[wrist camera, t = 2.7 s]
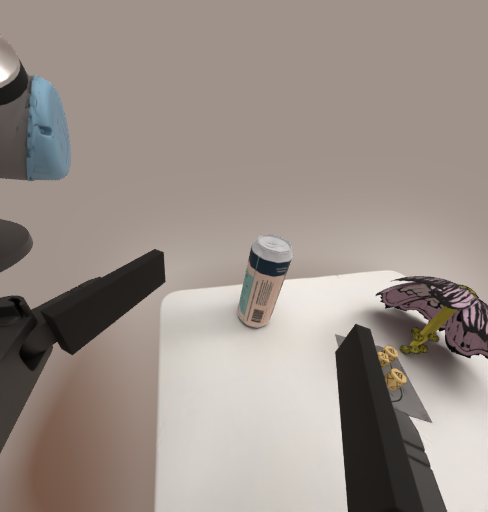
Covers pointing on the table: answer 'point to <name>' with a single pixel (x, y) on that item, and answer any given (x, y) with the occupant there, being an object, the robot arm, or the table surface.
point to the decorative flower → (442, 314)
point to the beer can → (264, 279)
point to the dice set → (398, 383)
